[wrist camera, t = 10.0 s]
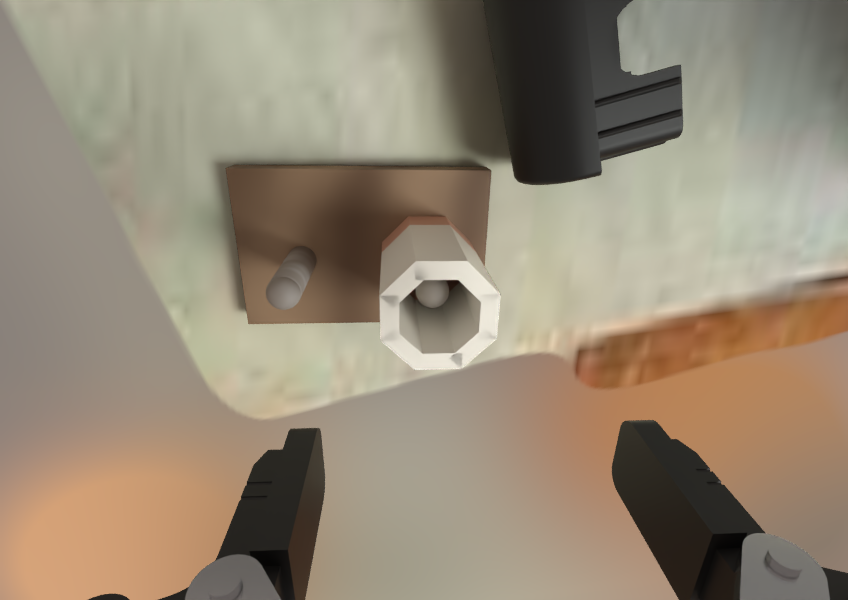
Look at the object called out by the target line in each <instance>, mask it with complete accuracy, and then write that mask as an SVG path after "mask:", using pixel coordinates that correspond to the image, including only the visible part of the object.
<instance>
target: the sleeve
mask: <svg viewBox="0 0 848 600" xmlns="http://www.w3.org/2000/svg"><path fill="white" fill-rule="evenodd" d="M423 280H447V283H448V286H449V296H448V299H447V300H446V302H445V303H444V304H443V305H441V306H439V307H436V308H429V307H426V306H424V305H422V304H421V303H420V302H419V300H418V299H417V296H416V290H415V288H416V287H417V286H418V285H419V284H420V283H421V282H422V281H423ZM379 296H380V341H381V342H382V343H384V344H385V345H386V346H387V347H388V348H389V349H391V350H392V351H393V352H394V353H395V354H397V355H398V356H399V357H400V358H401V359H402V360H404V361H405V362H406V363H407V364H408V365H409V366H411V367H412V368H413V369H414V370H433V369H462V368H463V367H464V366H465V365H467V364H468V363H469V362H470V361H471V360H473V359H474V358H475V357H476V356H477V355H478V354H480V353H481V352H482V351H483V350H484V349H485V348H487V347H488V346H489V345H490V344H491V343H493V342H494V341H495V340H496V339H497V330H498V319H499V308H500V296H501V294H500V292H499V290H498V289H497V287H496V285H495V284H494V282H493V280H492V278H491V277H490V275H489V273H488V272H487V270H486V268H485V266H484V265H483V263H482V261H481V260H480V258H479V256H478V254H477V253H476V251H475V249H474V248H473V246H472V244H471V242H470V241H469V240H468V239H467V238H466V237H465V236H464V235H463V234H462V233H461V232H460V231H459V230H458V229H457V228H456V227H455V226H454V225H453V224H452V223H451V222H450V221H449V220H448V218H447V217H446V216H408V217H407V218H406V219H405V220H404V221H403V222H402V223H401V224H400V225H399V226H398V227H397V228H396V229H395V230H394V231H393V232H392V233H391V234H390V235H389V236H388V237H387V238H386V239H385V240H384V241H383V242H382V255H381V273H380V291H379Z"/></svg>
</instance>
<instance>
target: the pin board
mask: <svg viewBox="0 0 848 600" xmlns="http://www.w3.org/2000/svg"><path fill="white" fill-rule="evenodd" d="M226 174H227V180H228V187H229V194H230V201H231V208H232V215H233V222H234V228H235V235H236V242H237V249H238V256H239V263H240V270H241V276H242V283H243V290H244V297H245V304H246V311H247V318H248V324H284V323H354V322H380V296H379V291H380V273H381V255H382V242H383V241H384V240H385V239H386V238H387V237H388V236H389V235H390V234H391V233H392V232H393V231H394V230H395V229H396V228H397V227H398V226H399V225H400V224H401V223H402V222H403V221H404V220H405V219H406V218H407V217H408V216H446V217H447V218H448V220H449V221H450V222H451V223H452V224H453V225H454V226H455V227H456V228H457V229H458V230H459V231H460V232H461V233H462V234H463V235H464V236H465V237H466V238H467V239H468V240H469V241H470V242H471V244H472V246H473V248H474V249H475V251H476V253H477V254H478V256H479V258H480V260H481V261H482V263H483V265H484V266H485V252H486V238H487V224H488V210H489V196H490V182H491V170H490V169H488V168H487V167H421V166H311V165H233V166H230V167H228V168H226ZM415 290H416V296H417V299H418V300H419V302H420V303H421V304H422V305H424V306H426V307H429V308H436V307H439V306H441V305H443V304H444V303H445V302H446V300H447V299H448V296H449V286H448V283H447V280H423V281H422V282H421V283H420V284H419V285H418V286H417V287H416V288H415Z"/></svg>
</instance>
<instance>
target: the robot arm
mask: <svg viewBox="0 0 848 600" xmlns="http://www.w3.org/2000/svg"><path fill="white" fill-rule="evenodd" d="M612 476H613V482H614V485H615V488H616V490H617V492H618V494H619V495H620V497H621V499H622V501H623V502H624V504H625V506H626V508H627V509H628V511H629V513H630V515H631V516H632V518H633V520H634V522H635V523H636V525H637V527H638V529H639V530H640V532H641V534H642V536H643V537H644V539H645V541H646V542H647V544H648V546H649V548H650V549H651V551H652V553H653V555H654V557H655V558H656V560H657V562H658V564H659V565H660V567H661V569H662V571H663V572H664V574H665V576H666V578H667V579H668V581H669V583H670V585H671V586H672V588H673V590H674V592H675V593H676V595H677V597H678V599H679V600H848V573H845V572H840V571H836V570H832V569H827V568H823V567H821V566H820V565H819V564H818V563H817V562H816V561H815V560H814V558H812V557H811V556H810V555H809V554H808V553H807V552H805V551H804V550H803V549H801V548H800V547H798V546H797V545H795V544H793V543H792V542H790V541H788V540H785V539H783V538H781V537H778V536H775V535H771V534H766V533H765V532H764V531H763V530H762V529H761V527H760V526H759V525H758V524H757V523H756V521H755V520H754V519H753V518H752V517H751V516H750V514H748V512H747V511H746V510H745V509H744V508H743V506H742V505H741V504H740V503H739V502H738V501H737V499H735V497H734V496H733V495H732V494H731V493H730V491H729V490H728V489H727V488H726V487H725V485H722V484H721V481H720V480H719V479H718V477H717V476H716V475H715V474H714V473H713V472H710V468H709V467H708V466H707V465H706V463H705V462H704V461H703V460H702V459H701V458H700V456H699V455H698V454H697V453H696V452H695V451H693V450H692V449H690V448H689V447H687V446H686V445H684V444H683V443H682V442H680V441H679V440H677V439H670V437H669V436H668V435H667V434H666V432H665V431H664V430H663V429H662V428H661V426H660V425H659V424H658V423H657V422H656V421H654V420H640V421H639V420H636V421H624V422H623V423H622V425H621V427H620V432H619V436H618V441H617V446H616V451H615V455H614V459H613V464H612ZM324 492H325V470H324V460H323V449H322V439H321V431H320V429H319V428H302V429H290V430H289V432H288V435H287V438H286V441H285V445H284V447H283V450H268V451H267V452H266V453H265V454H264V455H263V456H262V457H261V458H260V459H259V460H258V461H257V462H256V463H255V464H254V466H253V468H252V471H251V473H250V476H249V478H248V481H247V486H245V488H244V491H243V493H242V496H241V500H240V501H239V503H238V506H237V509H236V511H235V514H234V516H233V519H232V521H231V524H230V526H229V529H228V531H227V534H226V536H225V539H224V541H223V544H222V546H221V549H220V551H219V554H218V556H217V558H216V560H215V561H214V562H212V563H211V564H209V565H208V566H206V567H205V568H204V569H203V570H201V571H200V572H199V574H198V575H197V576H196V577H195V578H194V579H193V581H192V582H191V584H190V586H189V587H188V588H186V589H184V590H182V591H180V592H178V593H176V594H173V595H171V596H168V597H165V598H162V599H159V600H305V597H306V591H307V586H308V581H309V576H310V569H311V564H312V559H313V554H314V548H315V542H316V537H317V532H318V526H319V521H320V516H321V511H322V505H323V500H324ZM89 600H129V599H128V598H127V597H125V596H123V595H120V594H105V595H100V596H97V597H93V598H91V599H89Z"/></svg>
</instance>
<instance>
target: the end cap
mask: <svg viewBox="0 0 848 600" xmlns="http://www.w3.org/2000/svg"><path fill="white" fill-rule="evenodd" d="M631 1H633V0H483V4H484V9H485V15H486V21H487V26H488V32H489V37H490V43H491V49H492V54H493V60H494V65H495V71H496V77H497V82H498V88H499V93H500V99H501V105H502V110H503V116H504V121H505V127H506V133H507V138H508V144H509V149H510V155H511V161H512V166H513V172H514V177H515V178H516V180H517V181H518V182H521V183H523V184H530V185H548V184H558V183H566V182H572V181H577V180H582V179H587V178H591V177H595V176H599V175H601V172H602V169H601V161H603V160H606V159H610V158H614V157H617V156H621V155H624V154H628V153H632V152H635V151H639V150H642V149H646V148H650V147H653V146H657V145H660V144H663V143H665V142H666V141H668V140H671V139H675V138H678V137H679V136H680V135H681V133H682V130H683V109H682V77H681V65H676V66H672V67H668V68H665V69H661V70H658V71H654V72H651V73H647V74H644V75H631V72H625V71H623V70H622V69H621V66H620V53H619V41H618V28H617V16H618V15H619V13H620V12H621V11H622V9H623V8H624V7H626V5H627V4H628V3H630V2H631Z"/></svg>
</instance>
